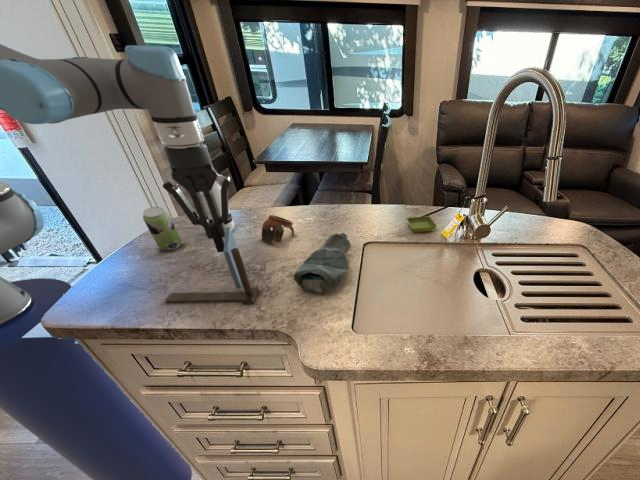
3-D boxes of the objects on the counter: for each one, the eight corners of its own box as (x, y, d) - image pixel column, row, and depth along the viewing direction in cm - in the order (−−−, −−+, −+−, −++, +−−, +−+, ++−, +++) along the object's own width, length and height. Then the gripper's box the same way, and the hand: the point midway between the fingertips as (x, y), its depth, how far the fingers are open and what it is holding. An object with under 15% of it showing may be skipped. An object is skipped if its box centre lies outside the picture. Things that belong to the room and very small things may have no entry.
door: (233, 262, 85) (221, 228, 79) (241, 261, 86) (230, 227, 80) (232, 289, 76) (218, 253, 70) (241, 288, 76) (228, 251, 70)
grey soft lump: (337, 299, 77) (367, 248, 96) (332, 275, 72) (364, 226, 91) (288, 295, 79) (326, 246, 98) (279, 271, 75) (321, 225, 94)
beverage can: (181, 240, 98) (164, 202, 91) (186, 250, 94) (168, 211, 86) (157, 246, 95) (138, 207, 88) (161, 256, 91) (141, 216, 83)
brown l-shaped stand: (164, 305, 74) (136, 256, 66) (174, 292, 78) (150, 245, 70) (253, 303, 75) (237, 255, 67) (259, 291, 79) (245, 244, 71)
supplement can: (203, 230, 104) (185, 183, 95) (227, 222, 109) (213, 177, 100) (215, 238, 100) (197, 190, 91) (240, 229, 105) (225, 183, 96)
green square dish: (437, 232, 107) (437, 226, 106) (412, 234, 105) (412, 228, 104) (429, 221, 114) (429, 215, 113) (405, 223, 112) (405, 217, 111)
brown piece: (258, 237, 102) (264, 212, 100) (288, 245, 107) (294, 221, 105) (260, 244, 92) (267, 216, 90) (293, 252, 97) (301, 226, 95)
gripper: (141, 150, 59) (189, 260, 73) (218, 147, 62) (249, 253, 77) (151, 141, 65) (194, 245, 79) (221, 139, 68) (250, 239, 83)
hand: (221, 249), depth 78 cm, fingers closed
